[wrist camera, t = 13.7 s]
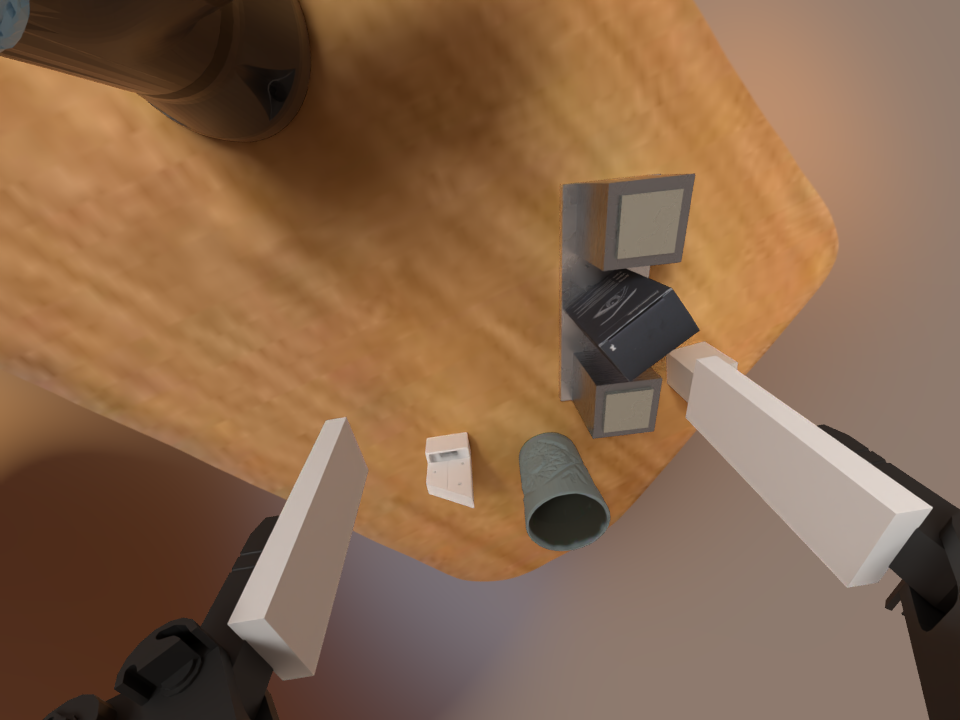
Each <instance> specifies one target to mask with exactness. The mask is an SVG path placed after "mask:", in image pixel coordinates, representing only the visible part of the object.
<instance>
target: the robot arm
mask: <svg viewBox="0 0 960 720" xmlns="http://www.w3.org/2000/svg"><path fill="white" fill-rule="evenodd" d="M0 56H3V57H6V58H10V59H14V60H17V61H21V62H25V63H29V64H32V65H36V66H40V67H43V68H47V69H51V70H55V71H58V72H62V73H66V74H69V75H73V76H76V77H80V78H84V79H87V80H91V81H94V82H98V83H102V84H105V85H109V86H112V87H116V88H120V89H123V90H127V91H130V92H135V93H137V94H138V95H140V96H141V97H143V98H144V99H146V100H147V101H148V102H149V103H150V104H151V105H152V106H154V107H155V108H156V109H158V110H159V111H160V112H161V113H163V114H164V115H166V116H167V117H168V118H170V119H171V120H173V121H175V122H176V123H178V124H180V125H182V126H184V127H186V128H188V129H190V130H192V131H194V132H197V133H199V134H202V135H205V136H209V137H213V138H217V139H223V140H228V141H235V142H252V141H258V140H262V139H265V138H268V137H270V136H272V135H274V134H276V133H278V132H279V131H281V130H282V129H283V128H284V127H286V126H287V125H288V124H289V123H290V122H291V120H292V119H293V118H294V117H295V115H296V114H297V112H298V111H299V109H300V107H301V105H302V103H303V100H304V98H305V95H306V92H307V88H308V84H309V78H310V67H311V56H310V43H309V37H308V32H307V27H306V23H305V19H304V16H303V13H302V10H301V7H300V5H299V2H298V0H0ZM686 418H687V420H688V421H689V422H690V423H691V424H692V425H693V426H694V427H695V428H696V429H697V430H698V431H699V432H700V433H701V434H702V435H703V436H704V437H705V438H706V439H707V441H708V442H709V443H710V444H711V445H712V446H713V447H714V448H715V449H716V450H717V451H718V452H719V453H720V454H721V455H722V456H723V457H724V458H725V460H727V462H728V463H729V464H730V465H731V466H732V467H733V468H734V469H735V470H736V471H737V472H738V473H739V474H740V475H741V476H742V477H743V478H744V479H745V481H746V482H747V483H748V484H749V485H750V486H751V487H752V488H753V489H754V490H755V491H756V492H757V493H758V494H759V495H760V496H761V497H762V498H763V500H764V501H765V502H766V503H767V504H768V505H769V506H770V507H771V508H772V509H773V510H774V511H775V512H776V513H777V514H778V515H779V516H780V517H781V519H782V520H783V521H784V522H785V523H786V524H787V525H788V526H789V527H790V528H791V529H792V530H793V531H794V532H795V533H796V534H797V535H798V536H799V537H800V539H802V541H803V542H804V543H805V544H806V545H807V546H808V547H809V548H810V549H811V550H812V551H813V552H814V553H815V554H816V555H817V556H818V557H819V558H820V560H821V561H822V562H823V563H824V564H825V565H826V566H827V567H828V568H829V569H830V570H831V571H832V572H833V573H834V574H835V575H836V576H837V577H838V579H840V581H841V582H842V583H843V584H844V585H845V586H846V587H853V586H860V585H866V584H872V583H877V582H879V581H880V579H881V578H882V577H883V575H884V574H885V573H886V571H887V570H888V568H891V569H892V570H893V571H894V572H895V573H896V574H897V575H898V576H899V577H901V578H902V580H901V582H900V583H899V584H898V586H897V587H896V588H895V589H894V591H893V592H892V593H891V594H890V596H889V597H888V598H887V600H886V604H885V608H886V609H889V610H893V608H894V607H895V606H896V605H897V604H898V602H899V601H900V600H901V603H902V606H903V612H902V615H904V616H905V619H906V623H907V628H908V632H909V636H910V640H911V644H912V649H913V653H914V657H915V661H916V665H917V670H918V674H919V678H920V682H921V686H922V690H923V695H924V699H925V703H926V707H927V711H928V715H929V720H960V509H958V508H957V507H955V506H954V505H952V504H951V503H949V502H948V501H946V500H945V499H943V498H942V497H940V496H939V495H937V494H936V493H934V492H933V491H931V490H930V489H928V488H927V487H925V486H924V485H922V484H921V483H919V482H918V481H916V480H915V479H913V478H912V477H910V476H909V475H907V474H906V473H904V472H903V471H901V470H900V469H898V468H897V467H895V466H894V465H892V464H891V463H886V461H885V459H883V458H882V457H880V456H879V455H877V454H876V453H874V452H873V451H871V452H870V451H869V450H868V448H867V447H865V446H864V445H862V444H861V443H859V442H858V441H856V440H855V439H853V438H852V437H850V436H849V435H847V434H845V433H842V432H840V431H838V430H836V429H833V428H831V427H829V426H826V425H818V426H816V425H814V424H813V423H811V422H810V421H809V420H807V419H806V418H805V417H803V416H802V415H800V414H799V413H797V412H796V411H794V410H793V409H792V408H790V407H789V406H787V405H786V404H784V403H783V402H782V401H780V400H779V399H777V398H776V397H774V396H773V395H772V394H770V393H769V392H767V391H766V390H765V389H763V388H762V387H760V386H759V385H757V384H756V383H755V382H753V381H751V380H750V379H749V378H747V377H746V376H745V375H743V374H742V373H740V372H739V371H738V370H736V369H735V368H733V367H732V366H730V365H729V364H728V363H726V362H725V361H723V360H722V359H720V358H719V357H718V356H712V357H706V358H700V359H696V363H695V368H694V374H693V379H692V385H691V390H690V396H689V401H688V407H687V413H686ZM367 474H368V468H367V465H366V463H365V460H364V458H363V456H362V453H361V451H360V448H359V446H358V444H357V441H356V439H355V437H354V434H353V432H352V429H351V427H350V425H349V422H348V420H347V417H343V418H337V419H331V420H326V421H325V423H324V425H323V428H322V430H321V432H320V434H319V436H318V438H317V440H316V442H315V444H314V446H313V448H312V450H311V452H310V454H309V456H308V458H307V461H306V463H305V465H304V467H303V469H302V471H301V473H300V475H299V477H298V479H297V481H296V483H295V485H294V487H293V489H292V491H291V494H290V496H289V498H288V500H287V502H286V504H285V506H284V508H283V510H282V512H281V514H280V515H279V516H273V517H267V518H265V519H264V520H263V521H262V522H261V523H260V525H259V526H258V527H257V528H256V529H255V530H254V531H253V532H252V533H251V534H250V536H249V538H248V540H247V542H246V544H245V546H244V547H243V549H242V551H241V553H240V554H241V555H240V557H238V558H237V560H236V562H235V564H234V566H233V568H232V572H231V573H229V575H228V577H227V579H226V581H225V583H224V584H223V586H222V588H221V590H220V592H219V594H218V596H217V597H216V599H215V601H214V603H213V605H212V607H211V608H210V610H209V612H208V614H207V616H206V618H205V620H204V622H203V623H202V625H201V627H200V626H199V625H198V624H197V623H196V622H195V621H194V620H193V619H188V618H181V619H177V620H173V621H170V622H168V623H166V624H165V625H163V626H161V627H160V628H158V629H156V630H155V631H153V632H152V633H151V634H150V635H149V636H148V637H147V638H145V639H144V640H143V641H142V642H141V643H139V645H138V646H137V647H136V648H135V649H134V651H133V652H132V653H131V654H130V655H129V656H128V658H127V659H126V661H125V663H124V664H123V666H122V668H121V669H120V671H119V673H118V675H117V679H116V683H115V687H114V689H115V690H116V691H118V692H119V693H121V694H119V695H117V696H115V697H114V698H111V699H109V700H107V701H104V700H102V699H100V698H99V697H97V696H95V695H81V696H78V697H76V698H73V699H71V700H69V701H67V702H65V703H64V704H62V705H61V706H60V707H58V708H57V709H55V710H54V711H52V712H51V713H50V714H48V715H47V716H46V717H45V718H44V719H43V720H279V717H278V714H277V711H276V708H275V705H274V702H273V699H272V696H271V694H270V693H269V691H268V690H267V686H268V683H269V680H270V677H271V674H272V671H274V672H275V673H276V674H277V675H278V676H279V677H280V678H281V679H282V680H283V681H284V680H290V679H296V678H302V677H307V676H314V674H315V670H316V666H317V662H318V659H319V655H320V651H321V647H322V644H323V640H324V636H325V632H326V629H327V625H328V621H329V617H330V613H331V610H332V606H333V602H334V598H335V595H336V591H337V587H338V583H339V579H340V576H341V572H342V568H343V564H344V561H345V557H346V553H347V549H348V545H349V542H350V537H351V534H352V530H353V527H354V523H355V519H356V515H357V511H358V508H359V504H360V500H361V496H362V493H363V489H364V485H365V481H366V477H367Z"/></svg>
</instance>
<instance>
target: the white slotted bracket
mask: <svg viewBox="0 0 960 720" xmlns="http://www.w3.org/2000/svg"><path fill="white" fill-rule="evenodd" d="M425 454H426V458H427V462H428V469H427V479H426V485H427V489H428V492H429V494H431V495H434V496H437V497H440V498H444V499H447V500H450V501H453V502H456V503H459V504H462V505H465V506H468V507H471V508H474V495H473V478H472V462H471V450H470V445H469V439H468V434H467V432H464V433H458V434H451V435H444V436H438V437H431V438H427V442H426V451H425Z"/></svg>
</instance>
